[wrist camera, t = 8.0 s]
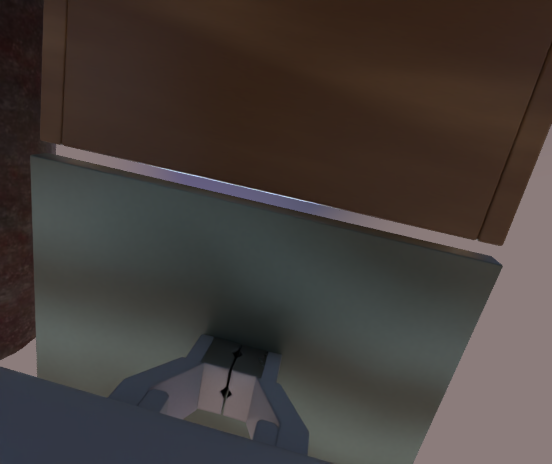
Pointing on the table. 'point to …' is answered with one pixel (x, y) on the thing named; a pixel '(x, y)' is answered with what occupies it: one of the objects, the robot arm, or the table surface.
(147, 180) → the pale green flat panel
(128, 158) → the box
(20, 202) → the dark brown rough cylinder
